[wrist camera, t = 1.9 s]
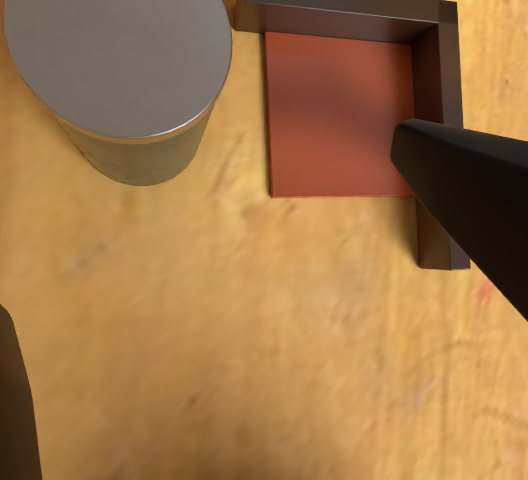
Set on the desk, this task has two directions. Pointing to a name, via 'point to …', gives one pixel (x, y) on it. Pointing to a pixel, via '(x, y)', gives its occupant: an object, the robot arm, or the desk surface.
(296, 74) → the corner rail
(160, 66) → the tea tin
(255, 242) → the desk surface
